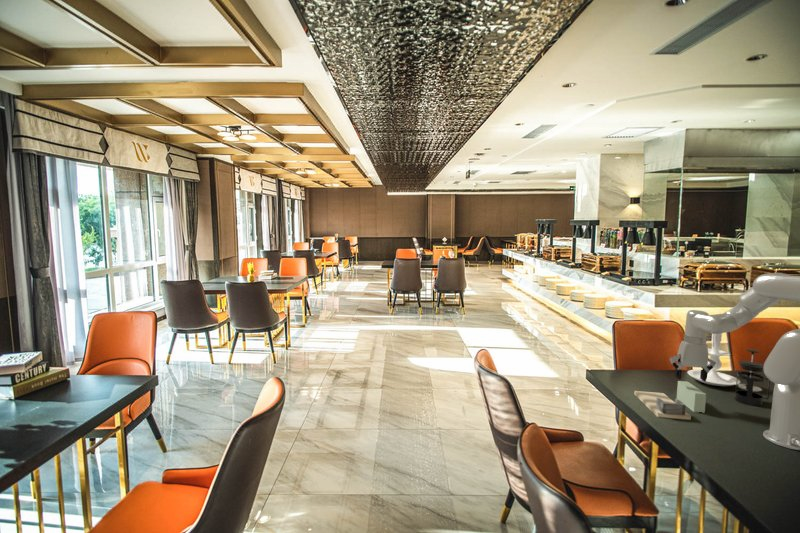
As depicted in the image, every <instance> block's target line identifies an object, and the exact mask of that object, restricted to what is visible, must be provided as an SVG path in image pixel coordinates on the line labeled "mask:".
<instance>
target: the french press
mask: <svg viewBox="0 0 800 533" xmlns="http://www.w3.org/2000/svg"><path fill="white" fill-rule="evenodd" d="M746 351H747V352H750V353H751V354H750V355H751V361H750V360H749V361H748V360H739V361H738V362H737V363H738V364H739V365H740V367H741V368H742V369H743V370H745V371H737V372H736V378H737V380H739V378H740V379H742V380H746V383H739V384H737V382H736V385H735V392H734V393H735V395H734V401H736V402H738V403H740V404H744V405H746V406H751V407H761V406H763V399H764V400H769V397H770V388H771V381H770V380H769V379H768V378H767V377H765V376H763V375H762V374H759V373H764V369H763V367H764V363H763V364H762V363H760V362H755V361H753V360H754V356H755V354H756V353H757V354H758V353H760V351H759V350H756V349H748V348H747V349H746ZM756 377H757V378H756ZM765 380H767V381H768V386H767V394H766V397H765V396H763V395H764V385H765ZM754 382H759V383H761V382H762V388H760V387H759V386H755V385H754ZM737 388H738V389H739V390H737ZM759 393H761V394H759Z"/></svg>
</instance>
